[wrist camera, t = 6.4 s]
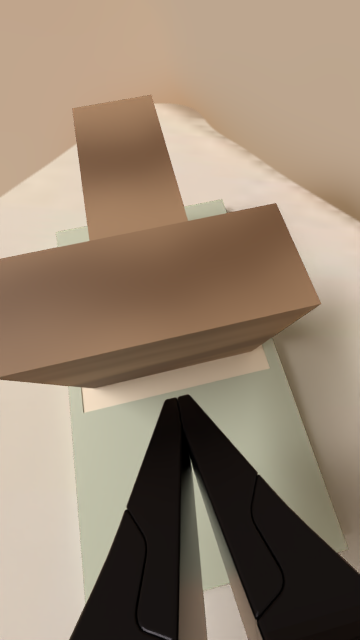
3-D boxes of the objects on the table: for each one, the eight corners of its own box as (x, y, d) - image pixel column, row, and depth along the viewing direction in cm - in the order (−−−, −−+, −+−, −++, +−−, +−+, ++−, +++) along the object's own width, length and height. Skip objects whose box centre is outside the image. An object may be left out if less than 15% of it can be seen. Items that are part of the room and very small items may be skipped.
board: (336, 538, 13) (348, 549, 12) (94, 606, 12) (86, 624, 11) (220, 208, 20) (222, 199, 19) (62, 240, 19) (56, 232, 18)
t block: (251, 351, 15) (321, 303, 7) (93, 388, 14) (-9, 378, 7) (206, 213, 18) (222, 82, 11) (77, 239, 18) (-4, 121, 10)
